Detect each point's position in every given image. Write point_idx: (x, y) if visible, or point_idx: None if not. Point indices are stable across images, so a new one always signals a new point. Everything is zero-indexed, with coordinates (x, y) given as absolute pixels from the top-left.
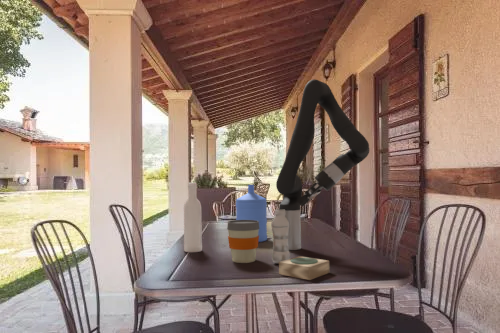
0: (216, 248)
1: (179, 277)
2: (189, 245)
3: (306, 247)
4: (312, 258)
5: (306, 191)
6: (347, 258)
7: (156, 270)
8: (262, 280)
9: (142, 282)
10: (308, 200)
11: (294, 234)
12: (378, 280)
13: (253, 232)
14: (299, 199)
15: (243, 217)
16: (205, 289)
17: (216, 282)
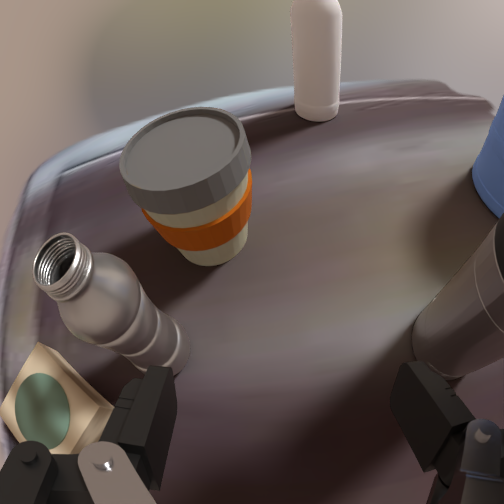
0: (364, 139)
1: (72, 177)
2: (294, 96)
3: (481, 391)
4: (60, 440)
5: (11, 456)
6: None
7: (124, 130)
8: (23, 317)
9: (61, 152)
10: (426, 465)
11: (446, 348)
12: None
13: (146, 210)
14: (142, 384)
15: (498, 122)
16: (6, 239)
17: (30, 241)
